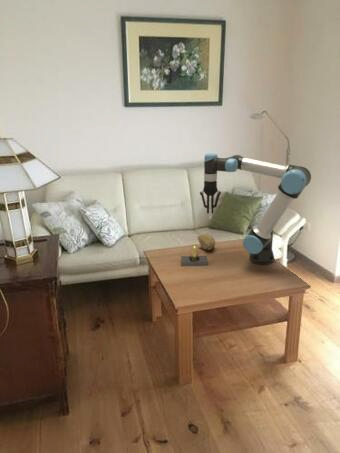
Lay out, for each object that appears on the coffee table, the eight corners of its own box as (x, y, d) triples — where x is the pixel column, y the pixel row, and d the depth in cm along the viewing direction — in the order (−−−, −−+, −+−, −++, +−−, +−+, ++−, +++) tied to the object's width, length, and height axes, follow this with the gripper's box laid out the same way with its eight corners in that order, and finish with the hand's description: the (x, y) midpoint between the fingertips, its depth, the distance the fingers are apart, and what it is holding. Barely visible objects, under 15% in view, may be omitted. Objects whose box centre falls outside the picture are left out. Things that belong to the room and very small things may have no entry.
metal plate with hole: (206, 259, 228) (206, 255, 227) (208, 265, 219) (208, 261, 219) (181, 259, 228) (181, 256, 227) (181, 265, 220) (181, 262, 219)
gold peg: (197, 261, 226) (197, 244, 222) (198, 263, 222) (198, 247, 218) (190, 261, 226) (190, 244, 222) (191, 264, 222) (190, 247, 218)
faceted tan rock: (200, 245, 252) (191, 242, 243) (208, 232, 250) (199, 228, 241) (215, 256, 243) (206, 254, 234) (224, 243, 241) (215, 239, 232)
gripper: (220, 178, 217) (219, 216, 225) (199, 179, 218) (198, 216, 225) (222, 181, 210) (221, 220, 218) (199, 181, 210) (199, 220, 218)
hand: (210, 218), depth 221 cm, fingers closed
